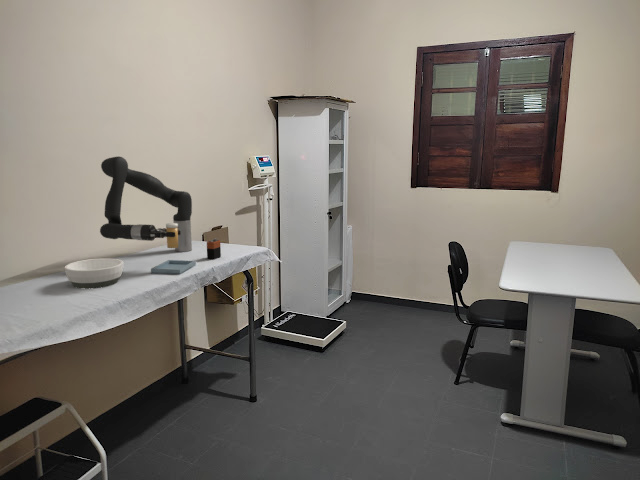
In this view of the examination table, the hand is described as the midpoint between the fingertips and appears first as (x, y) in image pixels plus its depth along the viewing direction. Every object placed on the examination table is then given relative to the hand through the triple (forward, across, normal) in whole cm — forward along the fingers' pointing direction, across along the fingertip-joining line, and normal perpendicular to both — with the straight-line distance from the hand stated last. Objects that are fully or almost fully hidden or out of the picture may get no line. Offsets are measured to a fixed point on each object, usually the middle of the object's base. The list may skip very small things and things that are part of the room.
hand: (177, 233), depth 223 cm
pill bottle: (-3, 0, +6) cm, 7 cm away
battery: (+7, +26, +17) cm, 32 cm away
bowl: (-24, -28, +18) cm, 41 cm away
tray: (-3, 0, +17) cm, 17 cm away
